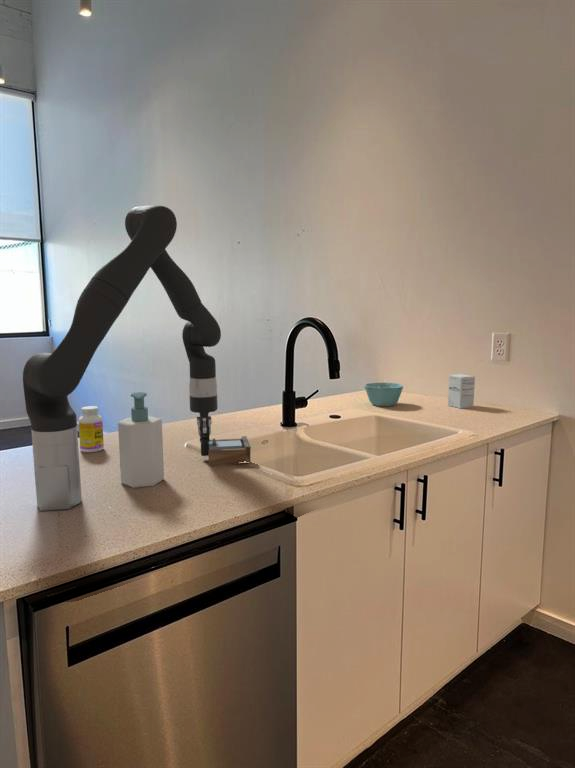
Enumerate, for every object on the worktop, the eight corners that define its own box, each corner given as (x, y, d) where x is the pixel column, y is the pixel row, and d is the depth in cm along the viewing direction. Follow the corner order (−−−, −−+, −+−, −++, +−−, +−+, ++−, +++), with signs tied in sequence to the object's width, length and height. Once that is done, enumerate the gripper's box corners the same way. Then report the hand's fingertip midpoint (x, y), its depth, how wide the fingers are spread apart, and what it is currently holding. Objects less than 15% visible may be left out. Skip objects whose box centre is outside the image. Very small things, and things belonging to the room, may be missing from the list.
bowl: (357, 402, 242) (358, 382, 240) (391, 400, 246) (392, 381, 245) (374, 409, 227) (374, 388, 226) (409, 407, 232) (410, 386, 230)
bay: (250, 463, 156) (250, 446, 156) (208, 465, 155) (208, 449, 154) (246, 451, 168) (246, 436, 167) (207, 453, 166) (207, 437, 165)
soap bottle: (121, 489, 136) (116, 397, 133) (121, 477, 145) (116, 391, 142) (165, 485, 139) (161, 395, 136) (163, 473, 148) (159, 389, 144)
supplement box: (447, 405, 234) (448, 374, 232) (461, 404, 237) (462, 373, 235) (459, 408, 227) (461, 377, 225) (474, 407, 230) (475, 375, 228)
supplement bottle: (96, 453, 167) (94, 410, 165) (75, 452, 168) (73, 409, 166) (108, 447, 173) (105, 405, 171) (88, 446, 174) (85, 404, 172)
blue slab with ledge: (242, 461, 159) (242, 442, 158) (209, 463, 158) (209, 443, 157) (240, 455, 165) (240, 436, 164) (208, 457, 163) (208, 438, 163)
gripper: (218, 397, 151) (219, 461, 154) (216, 389, 164) (217, 448, 167) (189, 398, 150) (191, 462, 153) (189, 390, 163) (191, 449, 166)
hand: (205, 454), depth 160 cm, fingers closed
